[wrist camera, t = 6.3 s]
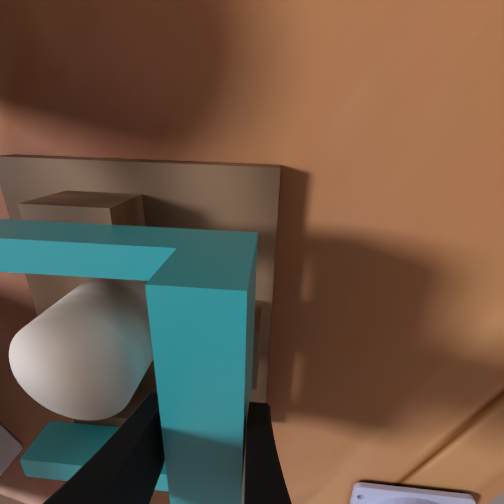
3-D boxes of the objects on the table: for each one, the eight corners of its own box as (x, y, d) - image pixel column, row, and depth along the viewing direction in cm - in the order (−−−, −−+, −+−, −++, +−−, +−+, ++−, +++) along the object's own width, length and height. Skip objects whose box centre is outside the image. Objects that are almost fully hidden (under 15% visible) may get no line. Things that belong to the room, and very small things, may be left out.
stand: (75, 398, 21) (8, 486, 16) (14, 154, 15) (-127, 165, 10) (264, 417, 20) (259, 516, 15) (280, 164, 14) (281, 183, 9)
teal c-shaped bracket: (54, 436, 16) (-22, 540, 12) (-12, 218, 12) (-168, 264, 8) (249, 455, 15) (239, 571, 11) (258, 232, 11) (247, 291, 7)
